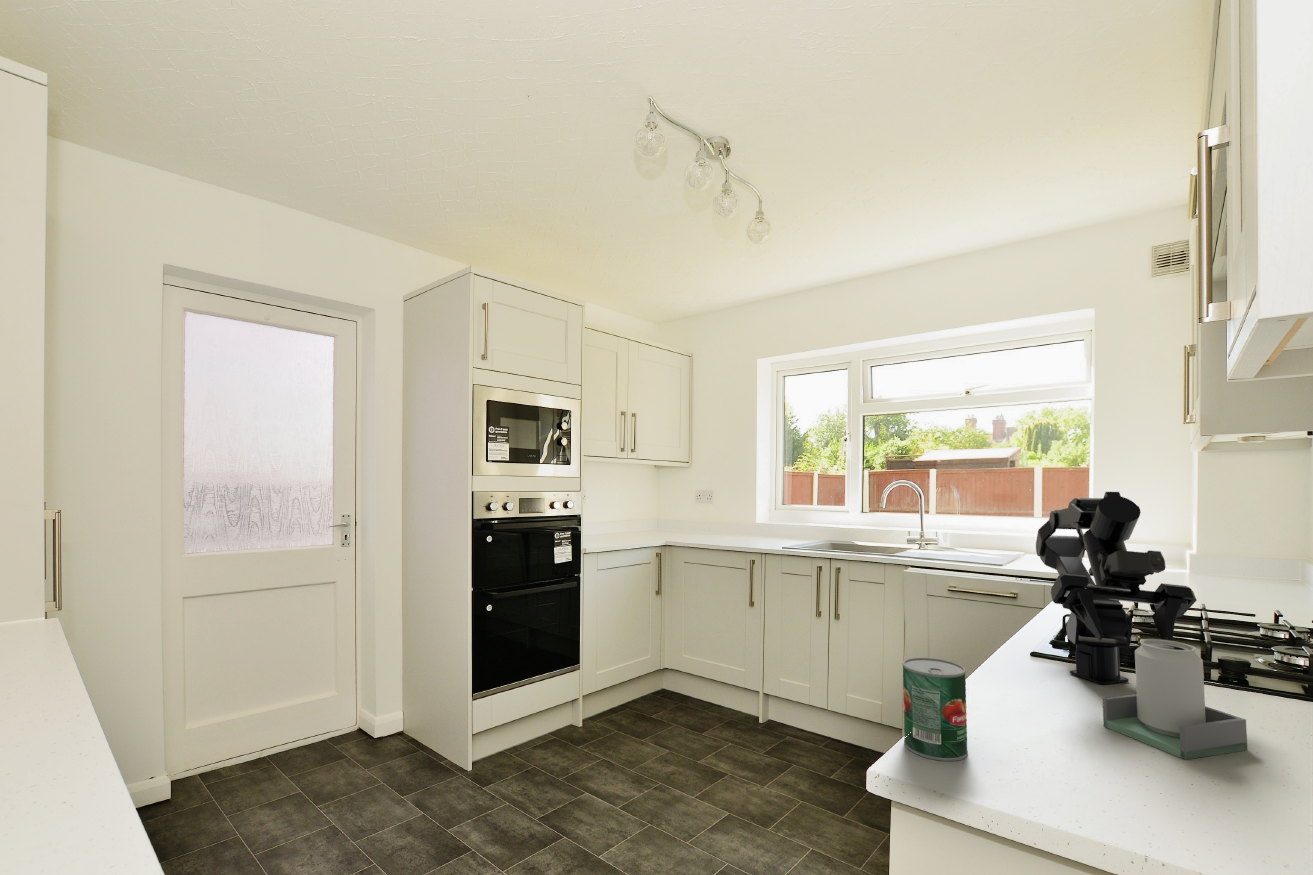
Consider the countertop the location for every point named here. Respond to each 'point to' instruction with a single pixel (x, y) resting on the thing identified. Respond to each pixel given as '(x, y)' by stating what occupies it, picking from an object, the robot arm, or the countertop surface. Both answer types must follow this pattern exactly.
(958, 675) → the canned tomato
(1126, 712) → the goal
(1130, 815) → the countertop surface
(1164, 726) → the can
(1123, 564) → the robot arm
